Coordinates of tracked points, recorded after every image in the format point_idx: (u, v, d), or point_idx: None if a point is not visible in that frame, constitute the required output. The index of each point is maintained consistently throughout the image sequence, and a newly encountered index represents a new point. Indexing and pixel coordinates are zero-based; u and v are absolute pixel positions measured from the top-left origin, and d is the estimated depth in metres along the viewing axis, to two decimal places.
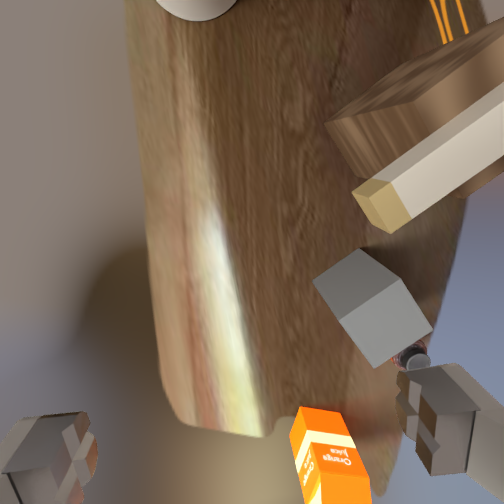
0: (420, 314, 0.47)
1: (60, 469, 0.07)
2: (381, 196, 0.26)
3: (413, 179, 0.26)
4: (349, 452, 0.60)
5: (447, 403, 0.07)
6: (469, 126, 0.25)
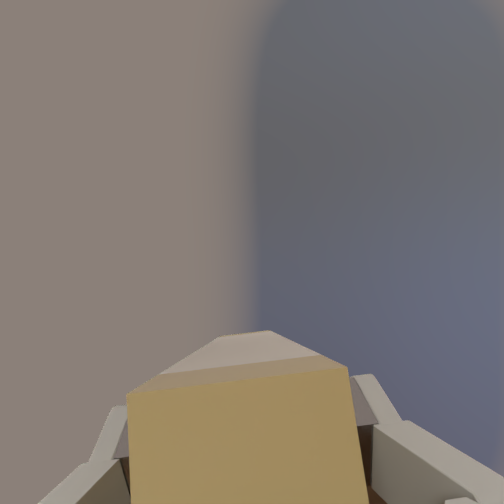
0: None
1: None
2: (172, 380, 0.06)
3: (210, 360, 0.09)
4: None
5: None
6: (201, 348, 0.14)
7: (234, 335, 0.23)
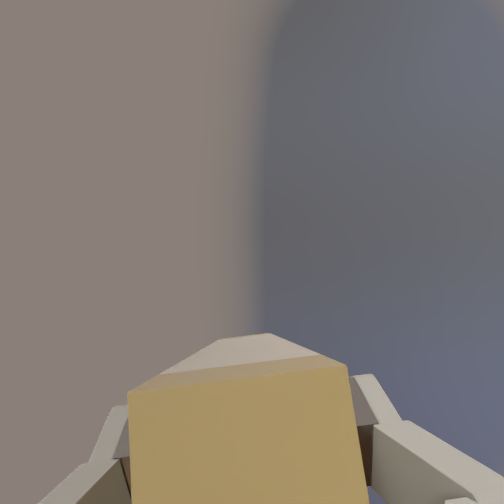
0: None
1: None
2: (173, 379, 0.06)
3: (210, 360, 0.09)
4: None
5: None
6: (201, 350, 0.14)
7: None
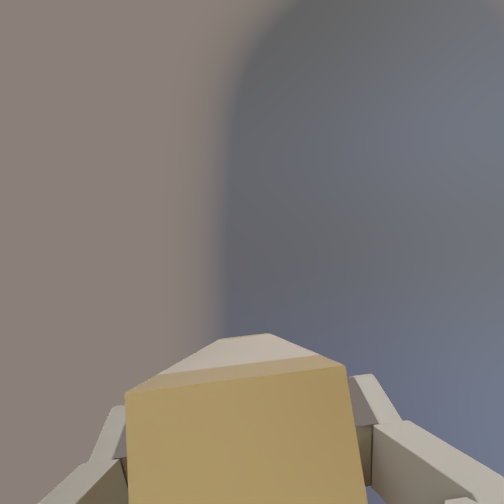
0: None
1: None
2: (170, 379, 0.06)
3: (209, 361, 0.09)
4: None
5: None
6: (200, 350, 0.14)
7: (233, 338, 0.23)
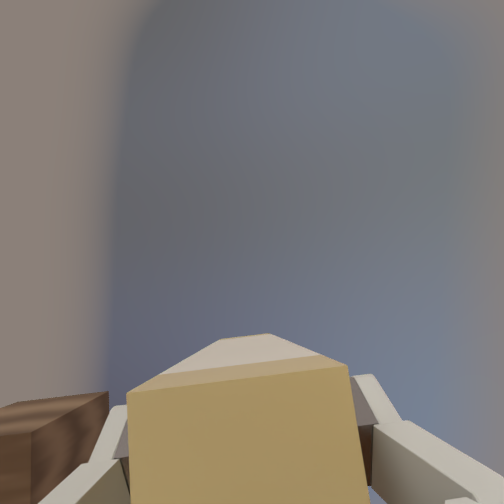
0: None
1: None
2: (172, 380, 0.06)
3: (210, 361, 0.09)
4: None
5: None
6: None
7: (234, 338, 0.23)
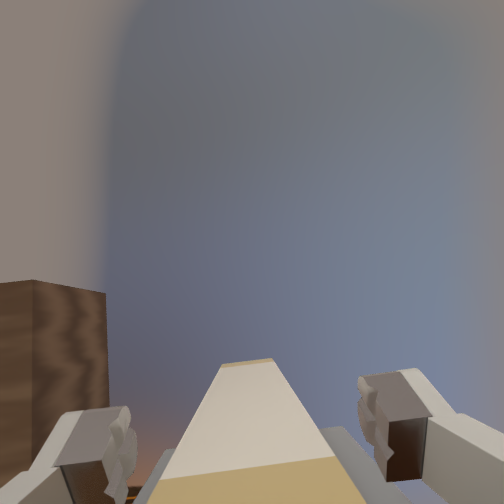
0: None
1: (109, 462, 0.07)
2: None
3: (214, 445, 0.08)
4: None
5: (401, 409, 0.07)
6: (203, 400, 0.14)
7: (236, 366, 0.23)
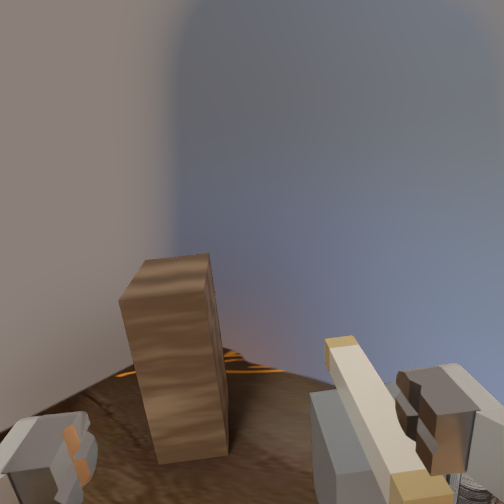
0: None
1: (60, 469, 0.07)
2: (405, 487, 0.24)
3: (393, 453, 0.27)
4: None
5: (447, 403, 0.07)
6: (357, 405, 0.32)
7: (337, 346, 0.41)
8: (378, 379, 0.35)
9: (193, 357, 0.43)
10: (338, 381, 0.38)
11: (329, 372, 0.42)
